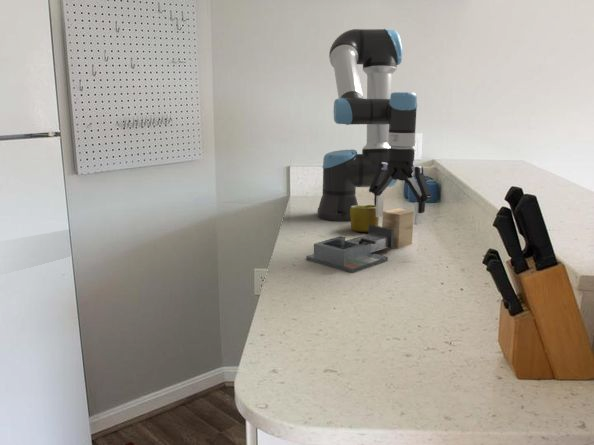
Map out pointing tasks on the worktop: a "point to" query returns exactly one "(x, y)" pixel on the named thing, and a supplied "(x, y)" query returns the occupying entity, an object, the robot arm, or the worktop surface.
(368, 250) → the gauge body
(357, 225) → the mug
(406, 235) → the block
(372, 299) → the worktop surface
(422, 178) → the robot arm
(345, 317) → the worktop surface
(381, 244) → the grey blocky piece
